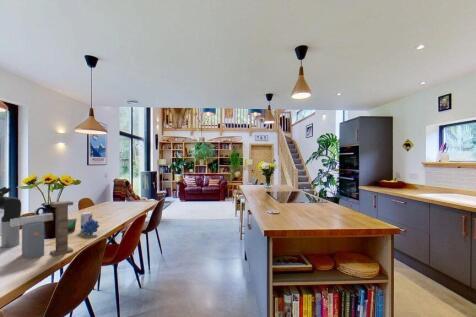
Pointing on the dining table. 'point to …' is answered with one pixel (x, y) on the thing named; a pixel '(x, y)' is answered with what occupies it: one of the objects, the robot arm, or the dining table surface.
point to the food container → (71, 224)
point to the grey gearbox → (33, 240)
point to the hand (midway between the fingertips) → (8, 188)
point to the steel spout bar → (31, 219)
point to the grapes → (90, 227)
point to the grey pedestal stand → (61, 228)
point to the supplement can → (85, 218)
